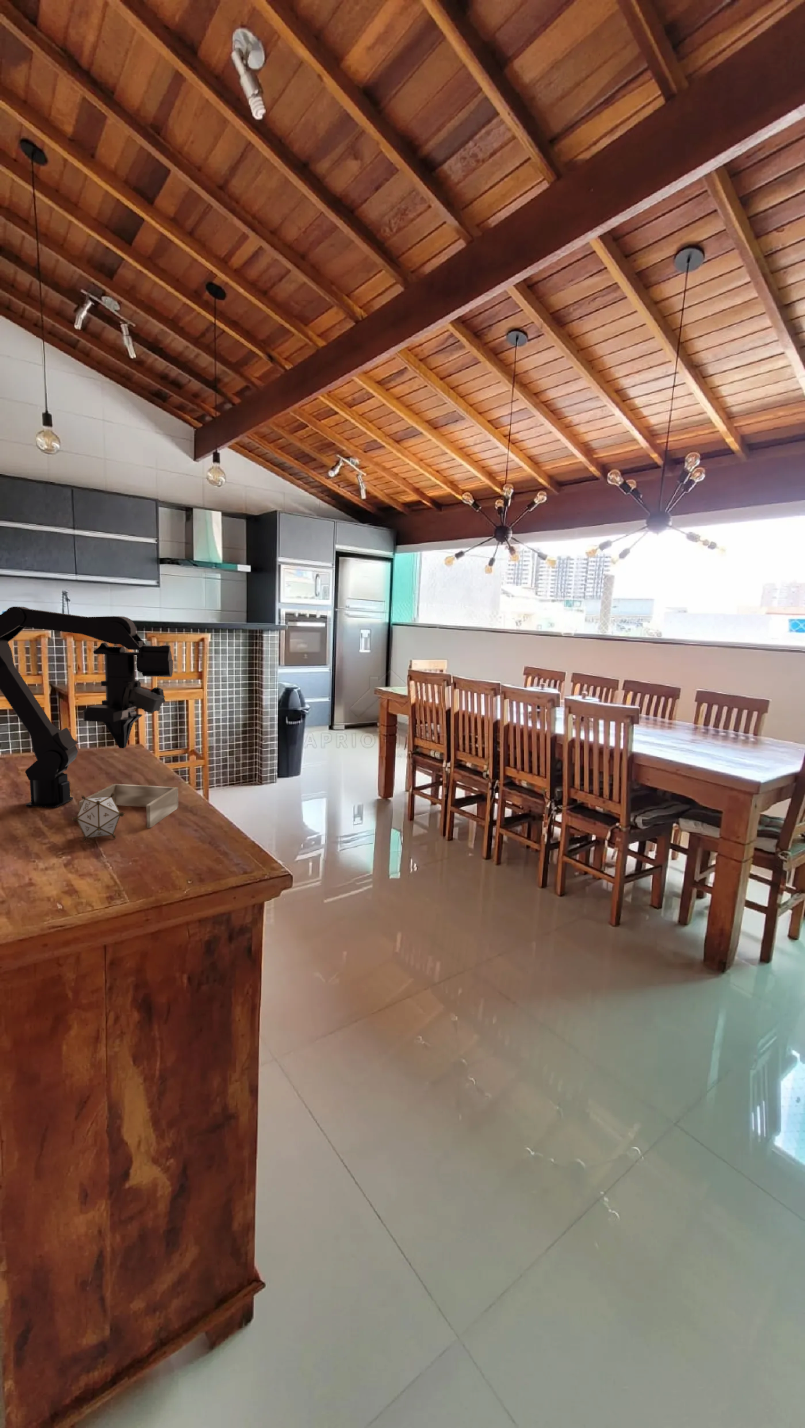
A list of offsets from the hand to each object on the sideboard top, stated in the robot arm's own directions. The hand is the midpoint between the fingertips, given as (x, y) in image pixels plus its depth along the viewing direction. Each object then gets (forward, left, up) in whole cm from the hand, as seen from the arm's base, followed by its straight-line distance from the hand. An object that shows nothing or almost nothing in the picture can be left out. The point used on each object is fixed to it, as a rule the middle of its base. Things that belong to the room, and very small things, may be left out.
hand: (122, 748), depth 125 cm
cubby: (+6, -9, -12) cm, 16 cm away
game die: (+6, -21, -12) cm, 25 cm away
